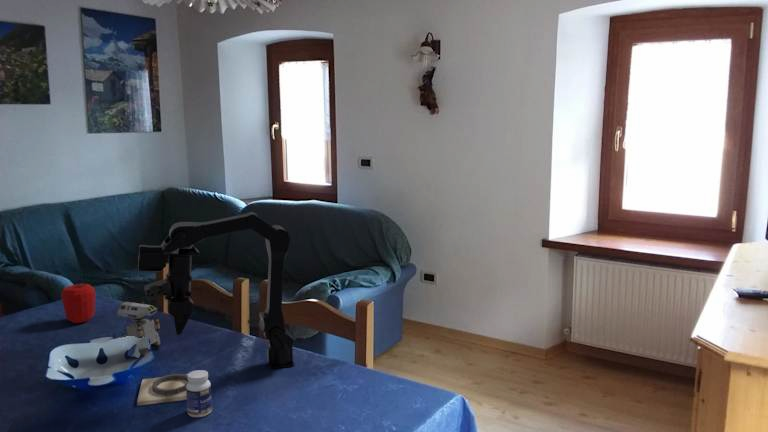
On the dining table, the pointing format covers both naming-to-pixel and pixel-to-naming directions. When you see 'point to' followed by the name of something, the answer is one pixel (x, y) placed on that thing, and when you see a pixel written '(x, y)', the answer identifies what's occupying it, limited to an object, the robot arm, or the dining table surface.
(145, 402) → the collar board
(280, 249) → the robot arm
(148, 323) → the figurine
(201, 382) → the pill bottle
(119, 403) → the dining table surface
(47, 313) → the dining table surface
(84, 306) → the apple
